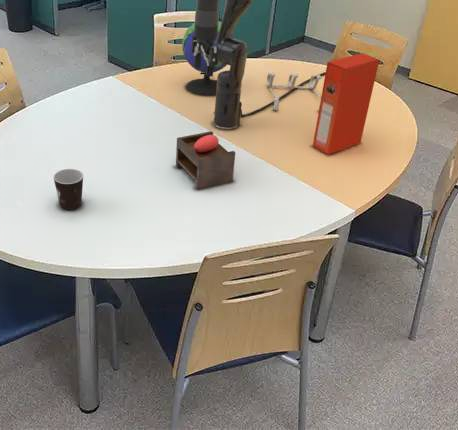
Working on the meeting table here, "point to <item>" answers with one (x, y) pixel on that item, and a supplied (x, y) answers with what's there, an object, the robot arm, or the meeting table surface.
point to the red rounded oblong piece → (206, 143)
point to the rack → (205, 162)
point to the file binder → (344, 102)
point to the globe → (206, 84)
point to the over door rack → (290, 85)
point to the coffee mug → (69, 188)
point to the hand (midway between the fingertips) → (203, 71)
